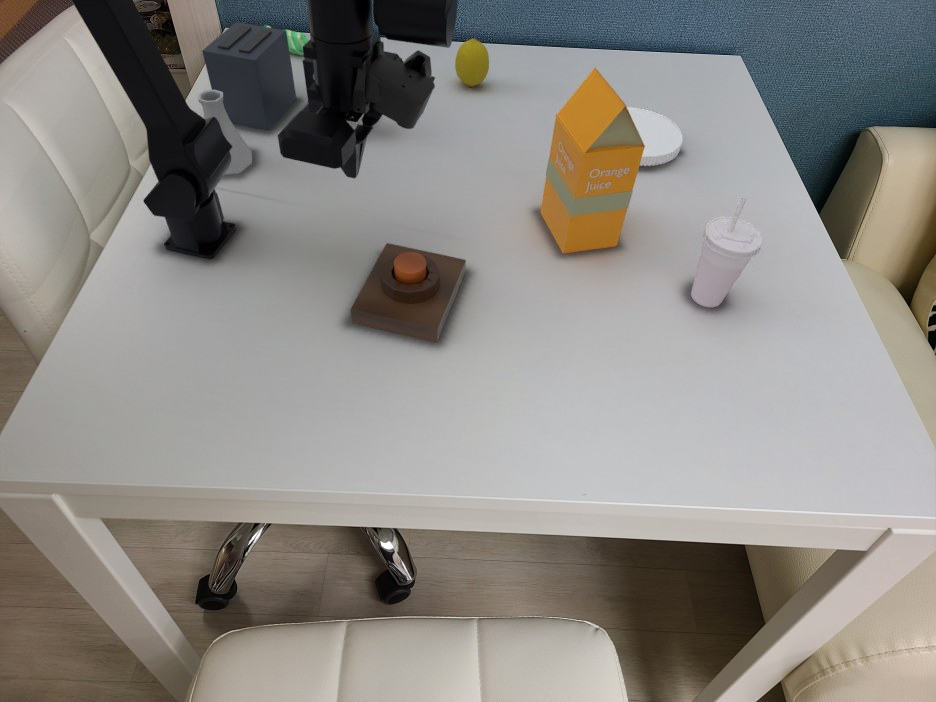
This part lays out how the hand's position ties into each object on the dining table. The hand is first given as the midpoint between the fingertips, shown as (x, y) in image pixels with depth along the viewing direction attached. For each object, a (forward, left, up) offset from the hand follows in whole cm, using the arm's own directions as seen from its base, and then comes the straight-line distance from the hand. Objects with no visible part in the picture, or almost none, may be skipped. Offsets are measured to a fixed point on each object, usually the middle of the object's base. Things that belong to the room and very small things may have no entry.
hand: (352, 176), depth 73 cm
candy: (+48, +30, -13) cm, 58 cm away
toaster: (+28, +27, -12) cm, 41 cm away
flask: (+14, +25, -13) cm, 31 cm away
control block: (-4, -8, -12) cm, 15 cm away
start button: (-4, -8, -9) cm, 12 cm away
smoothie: (+7, -42, -13) cm, 44 cm away
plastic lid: (+38, -30, -13) cm, 50 cm away
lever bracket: (+28, +15, -12) cm, 34 cm away
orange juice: (+15, -25, -13) cm, 32 cm away
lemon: (+47, -2, -13) cm, 49 cm away
